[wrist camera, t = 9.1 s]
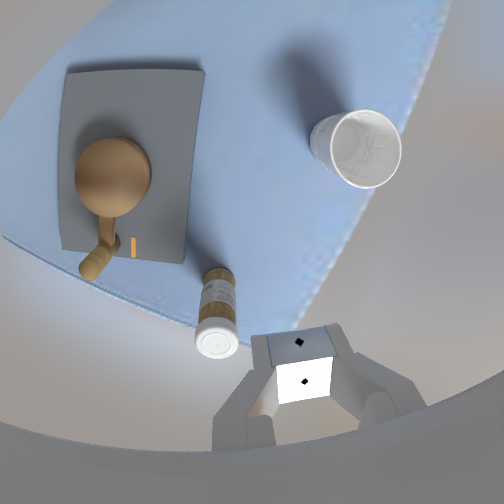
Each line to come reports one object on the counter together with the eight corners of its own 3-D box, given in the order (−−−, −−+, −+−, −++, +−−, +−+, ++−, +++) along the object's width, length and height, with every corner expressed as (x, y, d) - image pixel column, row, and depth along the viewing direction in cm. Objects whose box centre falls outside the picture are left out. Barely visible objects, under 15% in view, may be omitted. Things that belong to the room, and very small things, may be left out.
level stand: (73, 75, 28) (66, 74, 26) (205, 74, 31) (203, 70, 29) (68, 244, 38) (62, 249, 36) (185, 257, 40) (182, 264, 38)
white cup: (346, 182, 37) (381, 201, 28) (294, 156, 35) (316, 166, 26) (371, 130, 34) (412, 135, 25) (320, 101, 33) (350, 94, 24)
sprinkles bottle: (214, 299, 43) (210, 365, 30) (196, 275, 41) (185, 338, 29) (241, 286, 42) (247, 350, 30) (225, 260, 40) (223, 320, 28)
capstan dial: (89, 134, 30) (55, 139, 23) (157, 141, 31) (136, 146, 24) (83, 245, 36) (55, 272, 28) (143, 257, 37) (125, 288, 30)
